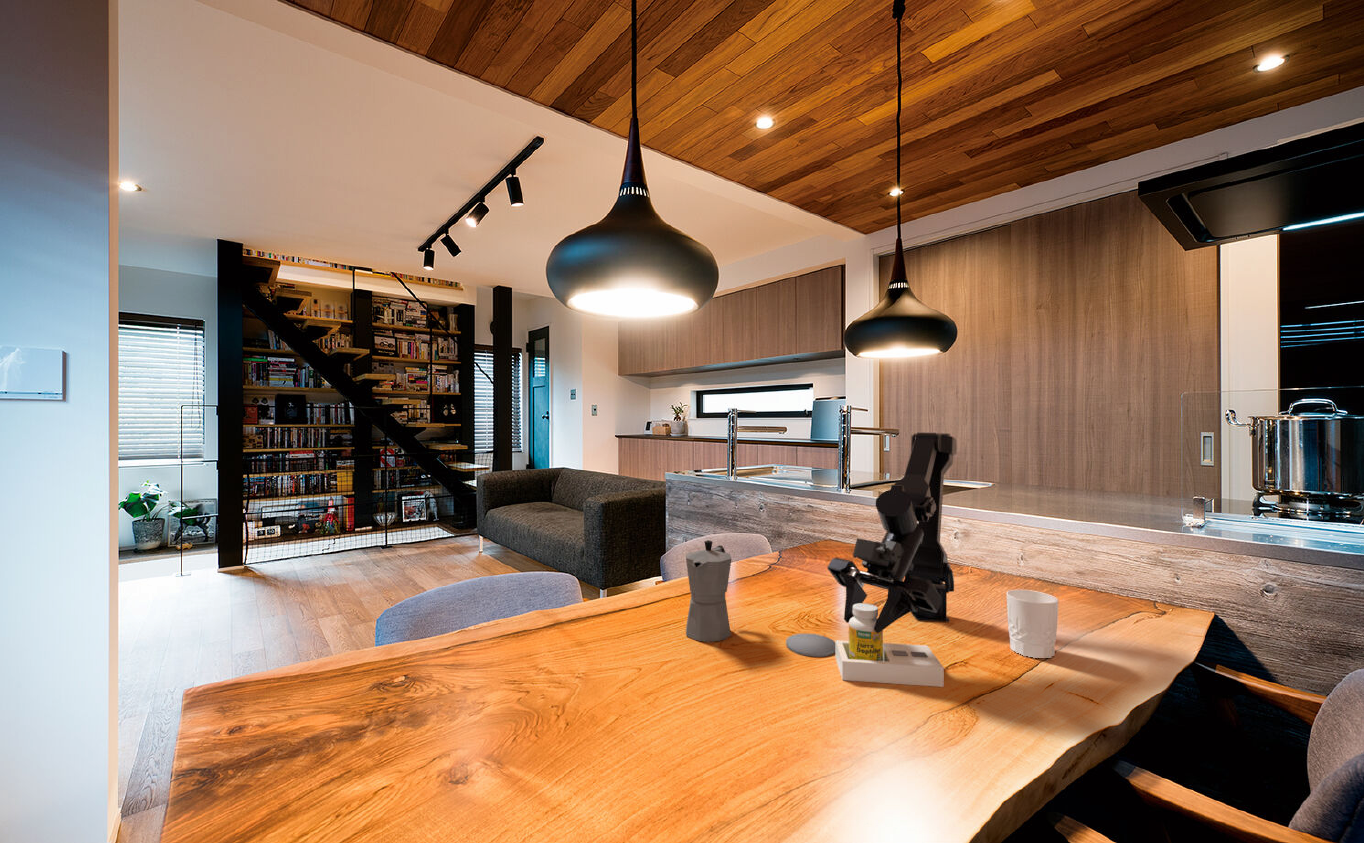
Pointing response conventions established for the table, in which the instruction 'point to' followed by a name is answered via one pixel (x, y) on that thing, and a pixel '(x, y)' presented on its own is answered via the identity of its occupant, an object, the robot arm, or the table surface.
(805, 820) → the table surface
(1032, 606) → the white cup
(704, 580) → the coffeepot
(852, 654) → the supplement bottle
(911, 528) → the robot arm
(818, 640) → the mat
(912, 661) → the desk organizer
